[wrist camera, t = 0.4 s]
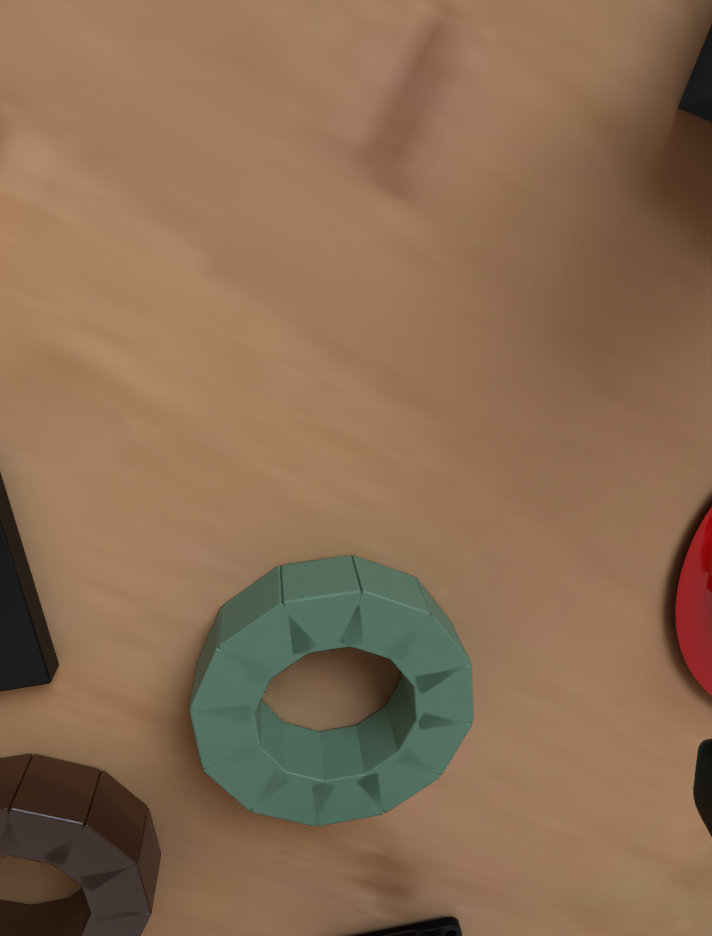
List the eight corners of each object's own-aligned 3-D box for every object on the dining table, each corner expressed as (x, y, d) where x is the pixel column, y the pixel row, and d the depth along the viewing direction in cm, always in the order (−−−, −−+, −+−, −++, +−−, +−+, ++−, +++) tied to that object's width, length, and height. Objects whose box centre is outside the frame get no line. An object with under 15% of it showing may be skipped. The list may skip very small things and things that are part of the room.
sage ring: (457, 748, 25) (476, 797, 23) (222, 789, 25) (218, 845, 22) (448, 539, 22) (469, 574, 20) (177, 579, 21) (167, 619, 19)
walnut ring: (177, 912, 26) (170, 975, 24) (-58, 958, 26) (-89, 1028, 23) (130, 736, 23) (115, 789, 21) (-142, 781, 22) (-187, 842, 20)
